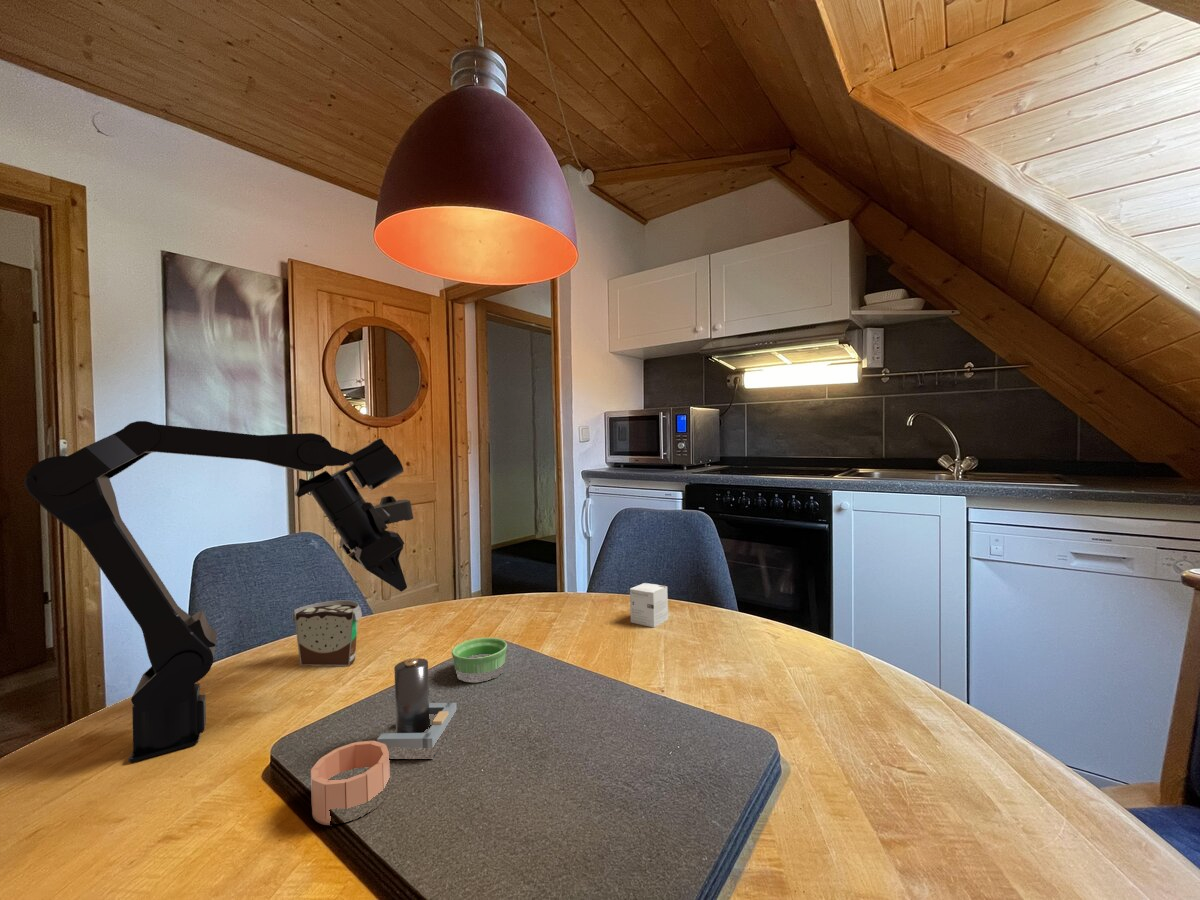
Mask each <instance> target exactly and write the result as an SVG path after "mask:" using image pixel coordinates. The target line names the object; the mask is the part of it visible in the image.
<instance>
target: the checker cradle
mask: <svg viewBox="0 0 1200 900" xmlns="http://www.w3.org/2000/svg"><path fill="white" fill-rule="evenodd" d="M456 710H458V709H457V702H429V714H434V715H435V714H437V715H436V717H435V718H434V720H433V721H432V726H430V729H429V730H428V731H427V733H396V732H393V733H392V732H391V733H390V732H388V733H387V732H386V733H385V732H384V733H381V734H380V735H379V737H377V738H376V739H377V740H376V741H377V742H380V743H383V744H385V745H386V746H387V747H390V748H391V747H401V748H402V747H403V748H404V747H412V748H413V747H415V748H416V747H417V748H421V747H422V748H433V747H434V745H435V743H436V742H437V740H438V739H439V737H440V736H441V734H442V733H443V731H444V730H445V728H446V726H447V725H448V723H449V722H450V720H451V718H452V717H453V715H454V713H455V712H456Z"/></svg>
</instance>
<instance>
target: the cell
mask: <svg viewBox="0 0 1200 900" xmlns="http://www.w3.org/2000/svg"><path fill="white" fill-rule="evenodd" d="M393 672H394V698H395V699H394V701H395V702H394V703H395V733H396V732H397V733H422V732H424V731H425V730H426V729H428V727H429V725H430V719H429V703H430V696H429V695H430V694H429V692H430V690H429V689H430V688H429V686H430V685H429V684H430V683H429V662H428V660H427V659H425V658H421V657H419V658H418V657H417V658H414V657H412V658H409V659H406V660H402V661H401V662H399V663H397V664H396V665H395V666H394V671H393Z"/></svg>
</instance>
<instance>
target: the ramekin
mask: <svg viewBox="0 0 1200 900" xmlns="http://www.w3.org/2000/svg"><path fill="white" fill-rule="evenodd" d="M507 649H508V644H507V642H506V641H505V640H504V639H502V638H498V637H476V638H472V639H471V638H470V639H467V640H465V641H463V642H460V643H458V644H456V645H455V646H454V647H453V648H452V650H451V656H452V659H453V665H454V669H455V668H456V670H458V671H459V672H462V673H469V674H470V673H476V674H478V673H485V672H490V671H493V670H495V669H498V668H499V667H501V666H502V665H503V664H504V663H505V664H506V652H507ZM479 654H492V655H489V656H484V657H477V658H467V657H469V656H472V655H479Z"/></svg>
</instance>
